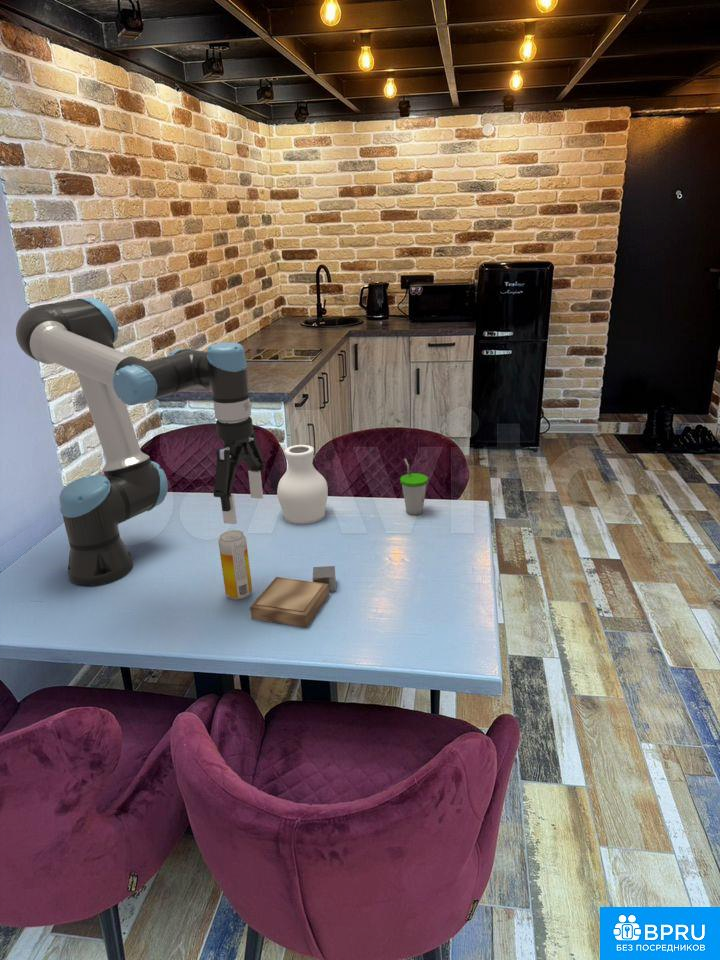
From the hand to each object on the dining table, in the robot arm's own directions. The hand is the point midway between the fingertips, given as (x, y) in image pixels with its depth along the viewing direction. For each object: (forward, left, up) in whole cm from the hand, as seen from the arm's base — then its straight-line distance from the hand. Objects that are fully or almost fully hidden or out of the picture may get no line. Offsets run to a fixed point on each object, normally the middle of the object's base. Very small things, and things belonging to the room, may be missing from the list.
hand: (244, 509), depth 152 cm
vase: (-4, +40, -20) cm, 45 cm away
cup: (+26, +49, -20) cm, 59 cm away
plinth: (+12, -5, -20) cm, 24 cm away
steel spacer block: (+16, +5, -20) cm, 26 cm away
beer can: (-2, -3, -20) cm, 20 cm away
